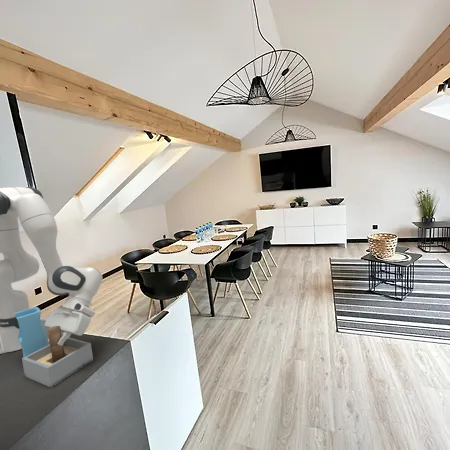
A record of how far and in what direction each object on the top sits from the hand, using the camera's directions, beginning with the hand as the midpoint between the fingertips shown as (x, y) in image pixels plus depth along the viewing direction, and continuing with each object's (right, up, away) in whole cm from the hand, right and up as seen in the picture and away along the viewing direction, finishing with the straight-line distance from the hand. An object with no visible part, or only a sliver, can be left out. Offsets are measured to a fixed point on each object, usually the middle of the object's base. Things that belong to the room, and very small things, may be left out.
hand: (54, 343), depth 101 cm
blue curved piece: (-13, -10, +9) cm, 19 cm away
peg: (+1, -6, +1) cm, 6 cm away
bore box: (+1, -10, +2) cm, 10 cm away
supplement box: (-12, -9, +21) cm, 25 cm away
